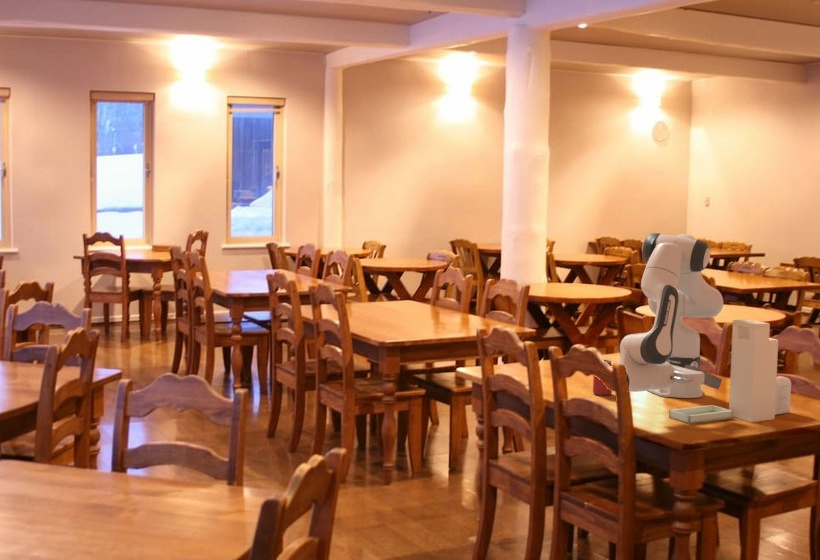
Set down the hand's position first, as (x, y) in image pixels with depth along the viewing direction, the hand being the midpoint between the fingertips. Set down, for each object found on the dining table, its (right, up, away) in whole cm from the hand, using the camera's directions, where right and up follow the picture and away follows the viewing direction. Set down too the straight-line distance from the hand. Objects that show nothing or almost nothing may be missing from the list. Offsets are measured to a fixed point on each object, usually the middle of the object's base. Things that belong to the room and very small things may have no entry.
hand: (695, 371), depth 336 cm
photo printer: (+30, -15, +11) cm, 35 cm away
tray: (+3, -15, +3) cm, 16 cm away
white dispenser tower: (+20, -15, +5) cm, 25 cm away
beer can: (-23, -12, +38) cm, 46 cm away
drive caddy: (+2, -3, +1) cm, 4 cm away
